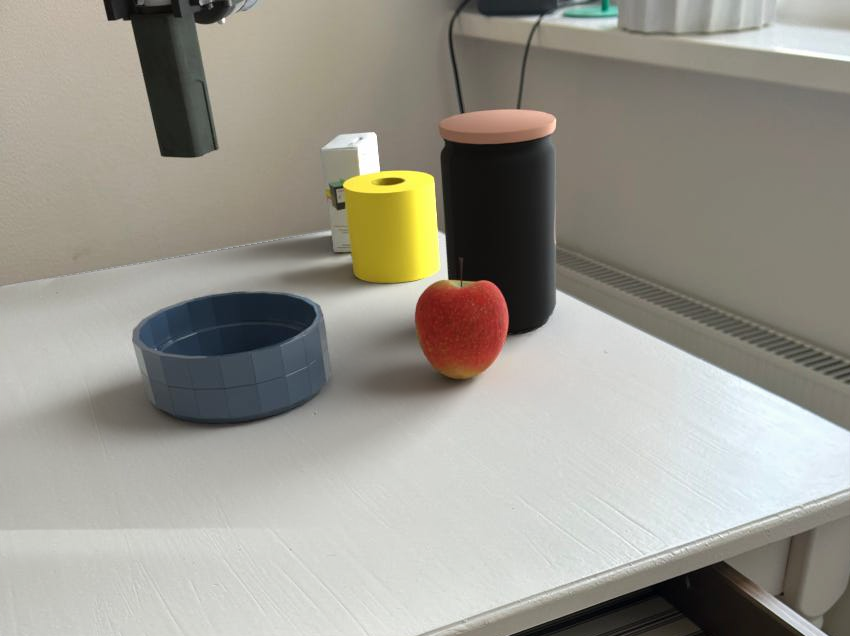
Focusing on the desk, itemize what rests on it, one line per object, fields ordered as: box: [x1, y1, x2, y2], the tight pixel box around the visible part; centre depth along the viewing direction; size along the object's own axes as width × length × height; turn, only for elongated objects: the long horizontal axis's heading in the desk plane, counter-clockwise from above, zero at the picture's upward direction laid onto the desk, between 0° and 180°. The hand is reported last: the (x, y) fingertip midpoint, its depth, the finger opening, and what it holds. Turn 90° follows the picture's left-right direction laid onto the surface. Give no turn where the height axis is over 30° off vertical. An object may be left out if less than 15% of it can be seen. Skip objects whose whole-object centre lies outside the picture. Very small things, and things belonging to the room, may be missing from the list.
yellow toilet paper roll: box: [343, 170, 441, 284], centre depth 110 cm, size 10×10×9 cm
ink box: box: [320, 131, 381, 253], centre depth 119 cm, size 8×5×12 cm, turn 171°
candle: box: [130, 0, 220, 159], centre depth 97 cm, size 5×5×25 cm
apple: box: [414, 257, 508, 380], centre depth 85 cm, size 8×8×10 cm
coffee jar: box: [437, 108, 557, 335], centre depth 94 cm, size 11×11×18 cm
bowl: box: [131, 290, 333, 424], centre depth 86 cm, size 16×16×6 cm
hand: (141, 2), depth 92 cm, fingers closed on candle, 6 cm apart
